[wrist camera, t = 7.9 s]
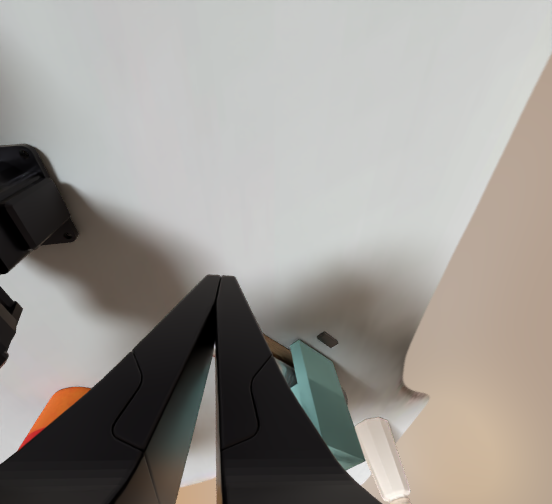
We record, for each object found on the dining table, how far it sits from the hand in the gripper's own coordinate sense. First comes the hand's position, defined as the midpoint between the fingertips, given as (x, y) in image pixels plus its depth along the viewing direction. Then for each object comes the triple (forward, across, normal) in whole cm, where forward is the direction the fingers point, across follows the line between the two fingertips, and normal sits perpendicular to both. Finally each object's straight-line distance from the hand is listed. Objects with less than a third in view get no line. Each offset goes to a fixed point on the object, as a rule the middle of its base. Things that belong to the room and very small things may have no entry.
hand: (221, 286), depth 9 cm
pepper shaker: (+14, -22, +38) cm, 45 cm away
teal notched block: (+12, -7, +21) cm, 26 cm away
